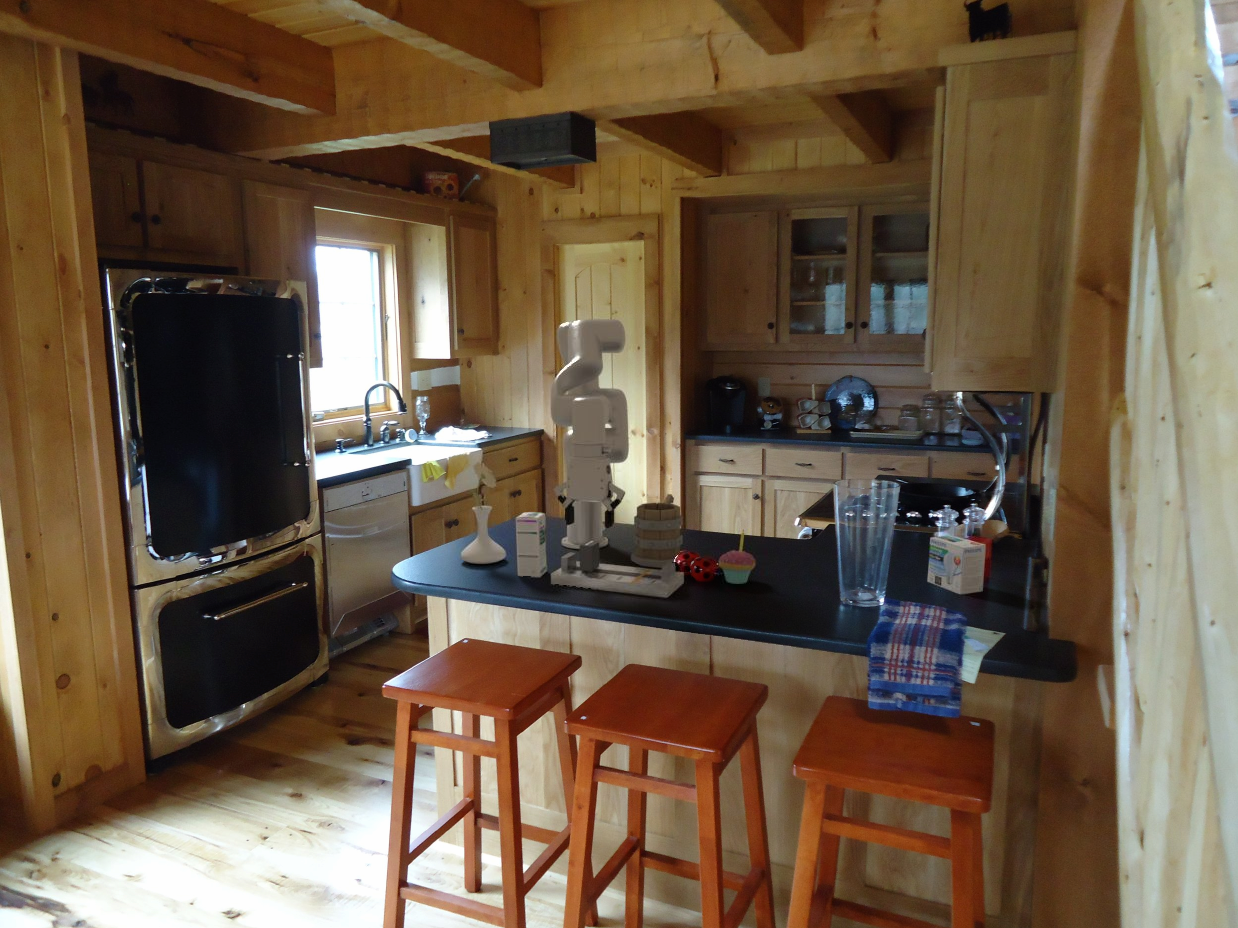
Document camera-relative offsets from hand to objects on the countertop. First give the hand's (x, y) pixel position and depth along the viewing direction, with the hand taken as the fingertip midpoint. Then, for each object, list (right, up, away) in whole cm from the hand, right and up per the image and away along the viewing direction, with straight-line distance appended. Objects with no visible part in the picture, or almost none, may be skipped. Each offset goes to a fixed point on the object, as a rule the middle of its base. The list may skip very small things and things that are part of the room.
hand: (589, 525), depth 201 cm
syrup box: (-14, -12, +8) cm, 20 cm away
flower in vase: (-28, -11, +20) cm, 36 cm away
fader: (0, -10, +2) cm, 10 cm away
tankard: (+18, -10, +23) cm, 31 cm away
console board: (+6, -13, 0) cm, 15 cm away
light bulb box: (+83, -14, -2) cm, 84 cm away
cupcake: (+34, -13, +2) cm, 37 cm away
